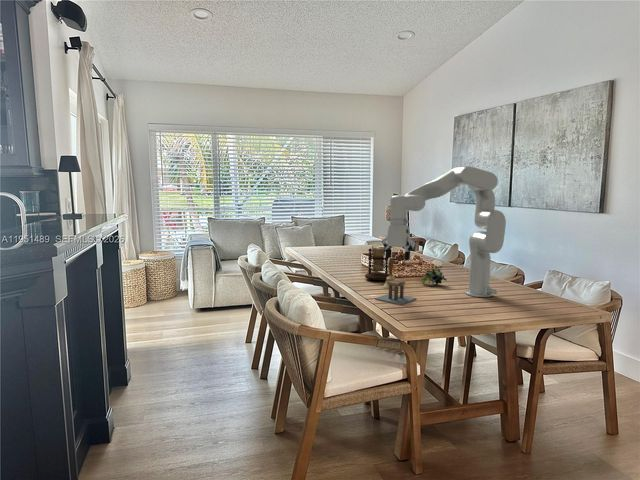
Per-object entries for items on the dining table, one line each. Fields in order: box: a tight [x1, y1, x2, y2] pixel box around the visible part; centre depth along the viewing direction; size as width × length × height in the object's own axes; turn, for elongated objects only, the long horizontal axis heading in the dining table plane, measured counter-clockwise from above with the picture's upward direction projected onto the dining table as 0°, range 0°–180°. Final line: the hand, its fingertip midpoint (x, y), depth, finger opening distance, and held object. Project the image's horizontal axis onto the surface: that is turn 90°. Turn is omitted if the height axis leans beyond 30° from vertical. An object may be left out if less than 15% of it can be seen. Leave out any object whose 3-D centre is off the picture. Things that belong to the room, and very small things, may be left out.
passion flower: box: [420, 267, 448, 287], centre depth 227 cm, size 11×11×12 cm
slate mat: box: [374, 292, 417, 306], centre depth 197 cm, size 14×14×1 cm
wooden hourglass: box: [364, 245, 389, 282], centre depth 240 cm, size 15×15×20 cm
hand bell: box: [382, 257, 396, 290], centre depth 220 cm, size 8×8×16 cm
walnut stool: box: [388, 279, 406, 300], centre depth 197 cm, size 7×5×8 cm
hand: (397, 258), depth 195 cm, fingers open, 9 cm apart
